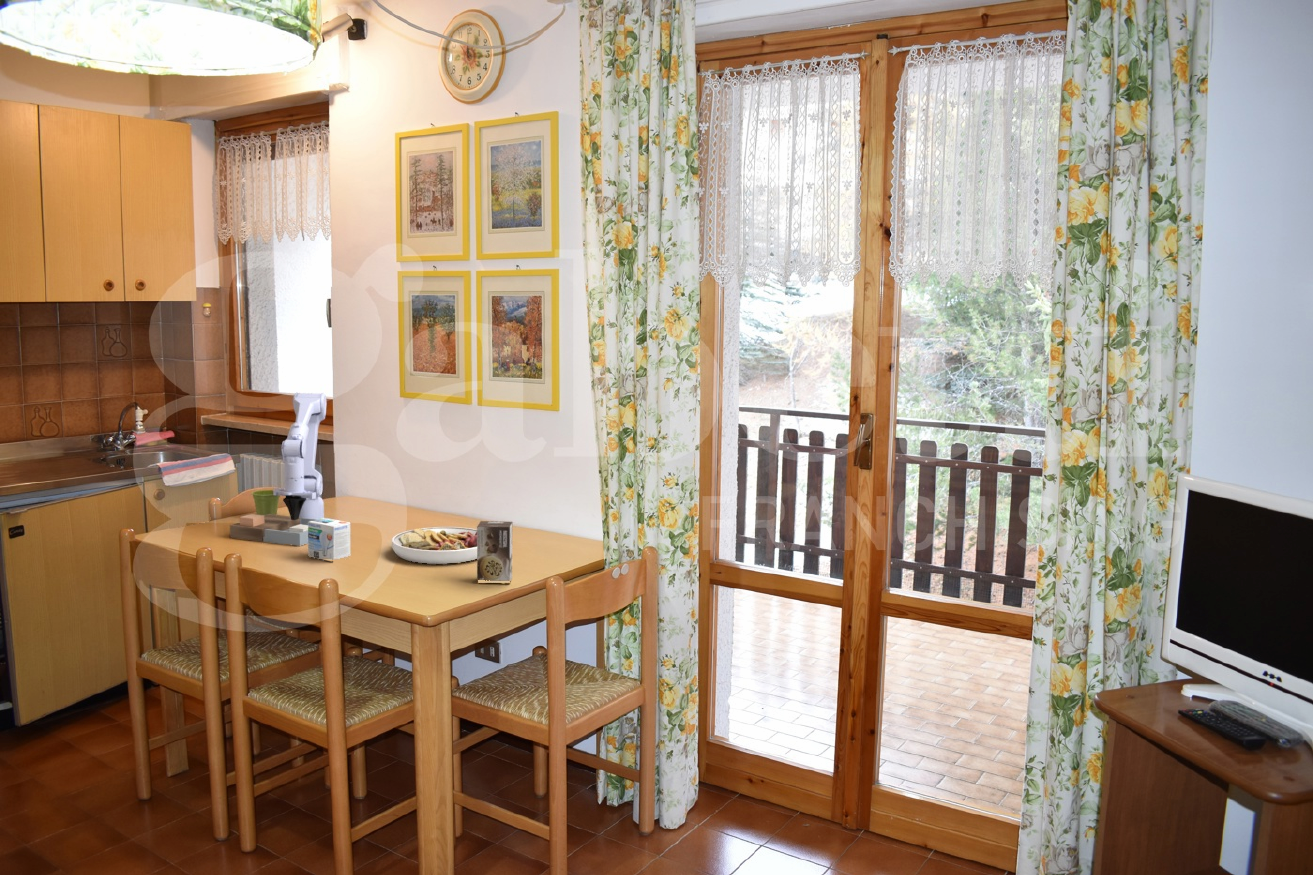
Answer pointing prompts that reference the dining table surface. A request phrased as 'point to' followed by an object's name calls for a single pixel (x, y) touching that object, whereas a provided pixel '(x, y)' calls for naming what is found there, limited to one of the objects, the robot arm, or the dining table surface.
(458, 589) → the dining table surface
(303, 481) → the robot arm
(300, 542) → the box
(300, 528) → the cream tile
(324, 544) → the light bulb box
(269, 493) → the plant pot
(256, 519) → the terracotta tile
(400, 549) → the bowl
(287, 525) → the dark brown flat block
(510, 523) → the coffee box
